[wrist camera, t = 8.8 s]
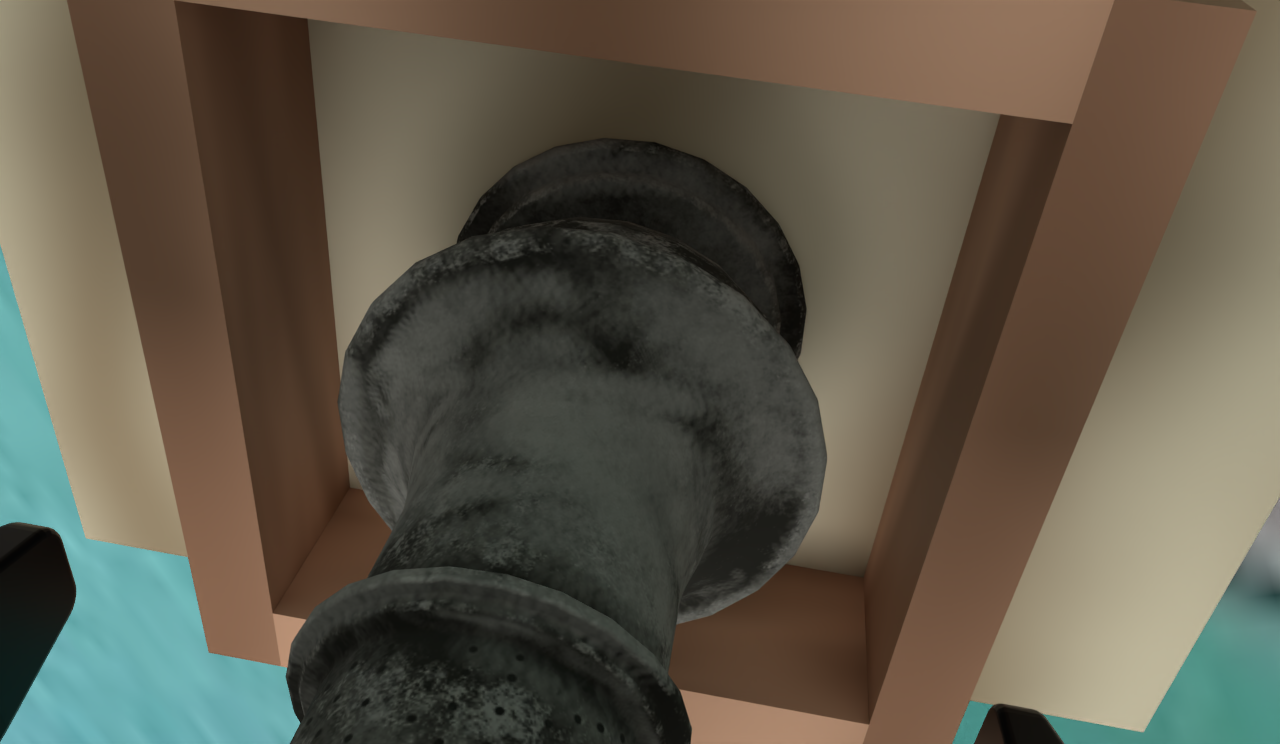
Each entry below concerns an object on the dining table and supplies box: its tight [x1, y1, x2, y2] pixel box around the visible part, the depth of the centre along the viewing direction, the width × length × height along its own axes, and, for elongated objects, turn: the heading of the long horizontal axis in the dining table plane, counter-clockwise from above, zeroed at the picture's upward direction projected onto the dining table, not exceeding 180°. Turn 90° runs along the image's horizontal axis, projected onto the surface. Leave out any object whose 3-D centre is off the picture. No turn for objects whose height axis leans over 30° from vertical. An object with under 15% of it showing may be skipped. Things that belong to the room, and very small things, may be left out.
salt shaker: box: [286, 138, 827, 744], centre depth 10 cm, size 6×6×12 cm
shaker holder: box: [0, 0, 1280, 744], centre depth 14 cm, size 20×14×4 cm
